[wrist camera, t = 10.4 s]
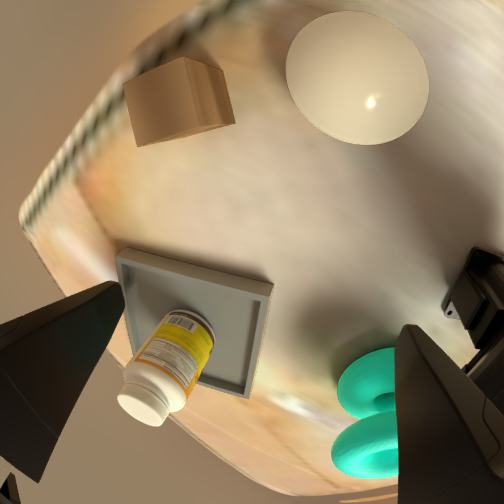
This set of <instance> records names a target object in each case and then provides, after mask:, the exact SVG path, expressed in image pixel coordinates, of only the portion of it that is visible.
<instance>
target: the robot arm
mask: <svg viewBox="0 0 504 504" xmlns="http://www.w3.org/2000/svg"><path fill="white" fill-rule="evenodd" d="M476 252H478V254H477V255H476V256H475V253H476ZM124 309H125V299H124V295H123V291H122V287H121V285H120V283H118V282H115V281H106V282H104V283H101V284H99V285H96V286H94V287H91V288H89V289H86V290H84V291H81V292H79V293H76V294H74V295H71V296H69V297H66V298H64V299H61V300H59V301H57V302H54V303H52V304H49V305H47V306H44V307H42V308H40V309H37V310H35V311H32V312H30V313H28V314H25V315H24V316H20V317H18V318H16V319H13V320H11V321H8V322H6V323H3V324H0V504H21V502H20V498H19V493H18V489H17V484H16V479H15V475H14V474H12V472H11V470H12V469H13V467H15V468H16V469H18V470H19V471H21V472H22V473H23V474H25V475H26V476H28V477H29V478H31V479H32V480H33V481H35V482H37V483H39V481H40V480H41V477H42V475H43V472H44V470H45V468H46V465H47V463H48V461H49V458H50V456H51V453H52V452H53V449H54V447H55V445H56V443H57V441H58V438H59V436H60V434H61V432H62V430H63V428H64V426H65V424H66V422H67V420H68V418H69V416H70V413H71V412H72V410H73V408H74V406H75V404H76V402H77V400H78V398H79V396H80V394H81V392H82V390H83V388H84V387H85V385H86V383H87V381H88V379H89V377H90V375H91V374H92V372H93V370H94V368H95V367H96V365H97V363H98V361H99V359H100V358H101V356H102V354H103V352H104V351H105V349H106V347H107V345H108V343H109V341H110V339H111V337H112V335H113V333H114V330H115V328H116V326H117V324H118V322H119V320H120V318H121V315H122V313H123V311H124ZM450 310H451V311H450ZM448 311H450V312H448ZM444 314H445V316H446V317H447V318H452V319H458V320H461V322H462V324H463V326H464V329H465V330H467V331H468V333H469V335H470V338H471V340H472V342H473V344H474V347H475V349H480V351H479V352H478V353H477V354H476V355H475V356H474V357H473V359H472V360H471V361H470V362H469V363H468V364H466V365H465V366H464V367H463V368H462V369H460V368H459V367H458V366H457V365H456V363H455V362H454V361H453V360H452V359H451V358H450V357H449V356H448V355H447V354H446V353H445V352H444V351H443V350H442V349H441V348H440V347H439V346H438V345H437V344H436V343H435V342H434V341H433V340H432V339H431V338H430V337H429V336H428V335H427V334H426V333H425V332H424V331H423V330H422V329H421V328H420V327H419V326H418V325H412V324H406V325H404V326H403V328H402V330H401V333H400V335H399V337H398V339H397V342H396V344H395V348H394V373H395V379H394V394H395V407H396V420H397V438H398V504H504V256H503V255H500V254H497V253H494V252H491V251H488V250H485V249H482V248H479V247H474V248H473V249H472V250H471V252H470V254H469V257H468V259H467V262H466V264H465V266H464V269H463V271H462V272H461V274H460V276H459V279H458V281H457V283H456V285H455V287H454V289H453V291H452V293H451V295H450V299H449V301H448V303H447V305H446V307H445V309H444Z"/></svg>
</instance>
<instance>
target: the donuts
mask: <svg viewBox="0 0 504 504" xmlns="http://www.w3.org/2000/svg"><path fill="white" fill-rule="evenodd" d="M394 348H395V347H393V348H385V349H380V350H376V351H373V352H371V353H368V354H366V355H364V356H362V357H360V358H359V359H357V360H356V361H354V362H353V363H352V364H351V365H350V366H348V368H347V369H346V370H345V371H344V372H343V374H342V375H341V377H340V380H339V382H338V386H337V396H338V400H339V402H340V404H341V406H342V407H343V408H344V409H345V410H346V411H347V412H348V413H349V414H351V415H352V416H354V417H356V418H359V419H361V420H359V421H357V422H356V423H354V424H352V425H351V426H349V427H348V428H346V429H345V430H344V431H343V432H342V433H341V434H340V435H339V436H338V437H337V439H336V440H335V442H334V444H333V446H332V450H331V457H332V461H333V463H334V465H335V466H336V467H337V468H338V469H339V470H340V471H342V472H343V473H345V474H348V475H350V476H354V477H359V478H387V477H393V476H398V438H397V420H396V407H395V394H394V379H395V373H394ZM388 392H389V393H388Z"/></svg>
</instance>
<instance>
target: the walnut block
mask: <svg viewBox="0 0 504 504" xmlns="http://www.w3.org/2000/svg"><path fill="white" fill-rule="evenodd" d="M123 88H124V93H125V97H126V102H127V106H128V111H129V115H130V119H131V124H132V128H133V132H134V136H135V140H136V144H137V147H141V146H146V145H150V144H154V143H159V142H164V141H169V140H174V139H179V138H184V137H188V136H191V135H195V134H198V133H201V132H205V131H209V130H212V129H216V128H220V127H223V126H227V125H231V124H235V119H234V115H233V110H232V106H231V102H230V98H229V94H228V90H227V86H226V82H225V78H224V74H223V71H222V70H219V69H217V68H214V67H212V66H209V65H206V64H204V63H201V62H198V61H196V60H193V59H190V58H187V57H184V56H182V57H179V58H177V59H175V60H172V61H170V62H167V63H165V64H163V65H161V66H158V67H156V68H154V69H152V70H150V71H147V72H145V73H143V74H141V75H139V76H137V77H135V78H133V79H131V80H129V81H127V82H125V83H123Z"/></svg>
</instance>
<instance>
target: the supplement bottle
mask: <svg viewBox="0 0 504 504" xmlns="http://www.w3.org/2000/svg"><path fill="white" fill-rule="evenodd" d="M214 345H215V335H214V332H213V330H212V328H211V326H210V325H209V324H208V323H207V322H206V321H205V320H204V319H203V318H202V317H200V316H199V315H197V314H195V313H193V312H190V311H187V310H173V311H171V312H169V313H167V314H166V315H165V316H164V318H163V319H162V320H161V321H160V323H159V324H158V325H157V326H156V328H155V329H154V330H153V332H152V333H151V334H150V335H149V337H148V338H147V339H146V341H145V342H144V343H143V345H142V346H141V347H140V348H139V350H138V351H137V352H136V354H135V355H134V356H133V357H132V359H131V360H130V361H129V363H128V364H127V365H126V367H125V368H124V371H123V379H124V382H125V385H124V386H123V388H122V390H121V391H120V393H119V394H118V397H117V399H118V402H119V404H120V405H121V406H122V408H123V409H125V411H126V412H128V413H129V414H130V415H131V416H133V417H134V418H136V419H137V420H139V421H141V422H143V423H145V424H148V425H151V426H160V425H162V423H163V422H164V420H165V419H166V417H167V416H168V415H169V412H175V411H178V410H180V409H181V408H182V407H183V406H184V404H185V403H186V401H187V399H188V397H189V395H190V393H191V391H192V389H193V387H194V385H195V383H196V381H197V380H198V378H199V376H200V374H201V372H202V370H203V368H204V366H205V364H206V362H207V360H208V358H209V356H210V354H211V352H212V350H213V348H214Z"/></svg>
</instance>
